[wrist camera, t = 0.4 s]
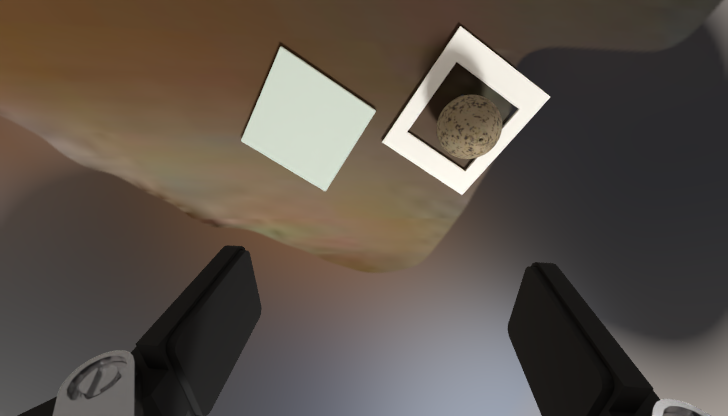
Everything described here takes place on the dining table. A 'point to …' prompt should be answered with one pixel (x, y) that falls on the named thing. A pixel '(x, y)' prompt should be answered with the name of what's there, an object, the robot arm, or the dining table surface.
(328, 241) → the dining table surface
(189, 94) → the dining table surface
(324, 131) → the sage mat
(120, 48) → the dining table surface
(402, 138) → the white square frame
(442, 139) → the decorative egg
